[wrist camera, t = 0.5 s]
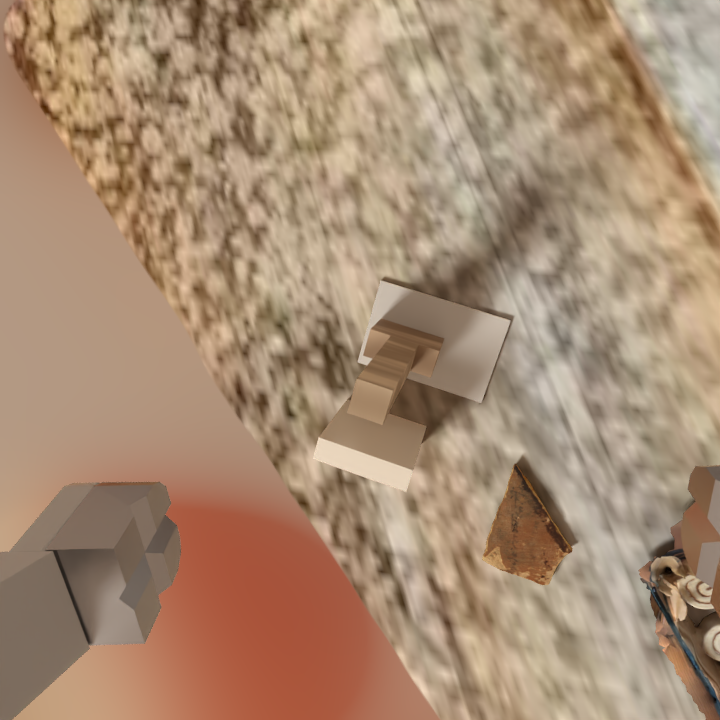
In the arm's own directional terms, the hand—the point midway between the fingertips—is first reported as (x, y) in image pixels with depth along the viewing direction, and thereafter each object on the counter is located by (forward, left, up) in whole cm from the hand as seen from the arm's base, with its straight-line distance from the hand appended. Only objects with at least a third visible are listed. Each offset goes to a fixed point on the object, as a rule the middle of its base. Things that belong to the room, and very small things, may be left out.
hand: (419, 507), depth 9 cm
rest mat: (+8, -3, -45) cm, 46 cm away
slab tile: (+16, -7, -45) cm, 48 cm away
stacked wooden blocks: (+8, -5, -45) cm, 46 cm away
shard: (+25, +7, -46) cm, 52 cm away
